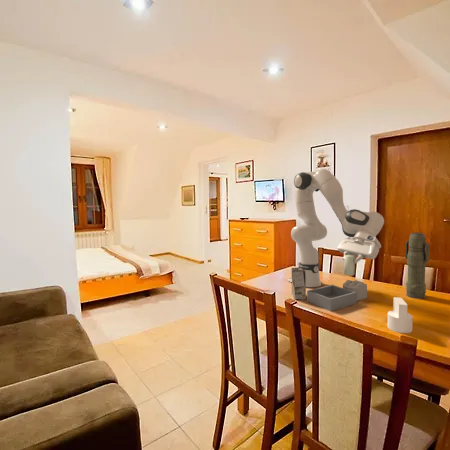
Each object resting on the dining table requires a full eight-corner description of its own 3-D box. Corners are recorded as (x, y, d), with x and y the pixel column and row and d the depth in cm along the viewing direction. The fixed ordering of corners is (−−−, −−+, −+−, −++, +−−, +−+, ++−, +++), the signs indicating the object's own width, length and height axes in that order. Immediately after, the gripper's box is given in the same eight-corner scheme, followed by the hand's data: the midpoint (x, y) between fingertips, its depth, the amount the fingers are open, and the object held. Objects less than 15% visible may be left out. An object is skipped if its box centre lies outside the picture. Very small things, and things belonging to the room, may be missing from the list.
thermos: (423, 300, 152) (426, 235, 148) (400, 294, 162) (401, 233, 158) (431, 297, 156) (434, 233, 153) (408, 291, 166) (410, 231, 163)
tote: (307, 301, 156) (307, 290, 156) (332, 294, 165) (332, 284, 165) (330, 311, 142) (330, 299, 142) (356, 303, 151) (356, 292, 151)
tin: (342, 273, 144) (342, 255, 143) (348, 272, 146) (348, 254, 145) (350, 275, 140) (350, 257, 139) (356, 274, 142) (356, 256, 141)
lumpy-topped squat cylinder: (369, 297, 159) (370, 282, 158) (352, 301, 154) (352, 286, 153) (354, 292, 168) (354, 277, 168) (337, 296, 163) (337, 281, 162)
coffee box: (306, 299, 159) (305, 271, 158) (294, 299, 160) (294, 271, 158) (302, 294, 168) (302, 267, 167) (291, 294, 169) (290, 267, 167)
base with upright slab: (385, 322, 128) (385, 296, 127) (408, 324, 125) (409, 297, 124) (390, 331, 119) (390, 303, 118) (415, 334, 117) (416, 305, 116)
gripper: (343, 233, 153) (329, 253, 150) (379, 238, 135) (364, 261, 132) (348, 240, 156) (335, 260, 152) (384, 246, 138) (370, 269, 134)
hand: (349, 261), depth 142 cm, fingers closed on tin, 5 cm apart
